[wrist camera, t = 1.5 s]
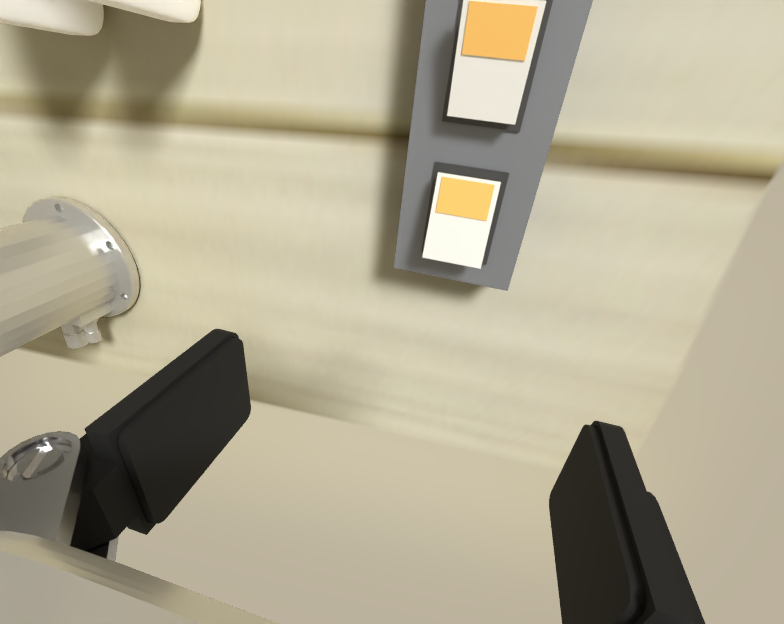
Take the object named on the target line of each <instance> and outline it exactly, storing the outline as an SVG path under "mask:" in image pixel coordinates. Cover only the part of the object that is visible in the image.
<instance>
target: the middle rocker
mask: <svg viewBox="0 0 784 624" xmlns="http://www.w3.org/2000/svg"><path fill="white" fill-rule="evenodd" d="M545 5H546V0H463V6H462V13H461V20H460V27H459V35H458V42H457V49H456V56H455V63H454V70H453V77H452V84H451V92H450V99H449V106H448V113H447V116H453V117H460V118H468V119H475V120H483V121H490V122H498V123H505V124H513V125H515V123H516V119H517V115H518V111H519V107H520V103H521V100H522V96H523V92H524V88H525V84H526V80H527V76H528V72H529V68H530V64H531V60H532V56H533V52H534V48H535V44H536V40H537V37H538V33H539V29H540V25H541V21H542V17H543V13H544V9H545Z"/></svg>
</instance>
